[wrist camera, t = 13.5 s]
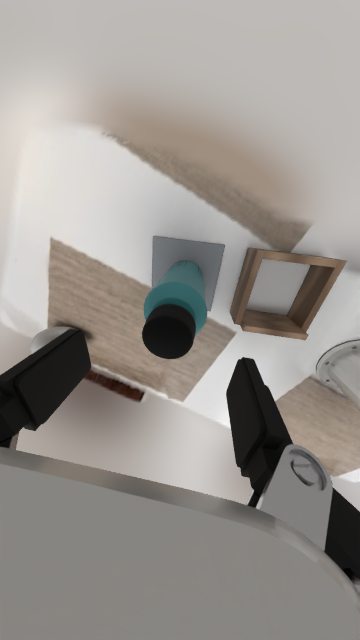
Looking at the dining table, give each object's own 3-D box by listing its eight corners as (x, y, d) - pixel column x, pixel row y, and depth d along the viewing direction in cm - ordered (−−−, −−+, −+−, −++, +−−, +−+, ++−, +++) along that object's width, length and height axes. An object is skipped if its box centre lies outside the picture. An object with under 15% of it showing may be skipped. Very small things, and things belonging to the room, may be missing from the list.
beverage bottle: (170, 255, 28) (117, 289, 10) (208, 261, 27) (223, 307, 10) (166, 291, 31) (122, 365, 13) (200, 297, 30) (201, 380, 13)
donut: (56, 329, 40) (15, 356, 31) (56, 318, 38) (13, 343, 29) (95, 343, 40) (66, 373, 32) (96, 333, 39) (66, 362, 30)
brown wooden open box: (322, 256, 26) (360, 263, 20) (290, 320, 32) (311, 341, 25) (248, 247, 26) (262, 251, 20) (229, 312, 32) (236, 329, 26)
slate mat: (224, 244, 27) (224, 245, 26) (210, 309, 32) (210, 311, 32) (154, 236, 27) (152, 236, 26) (152, 301, 33) (151, 302, 32)
